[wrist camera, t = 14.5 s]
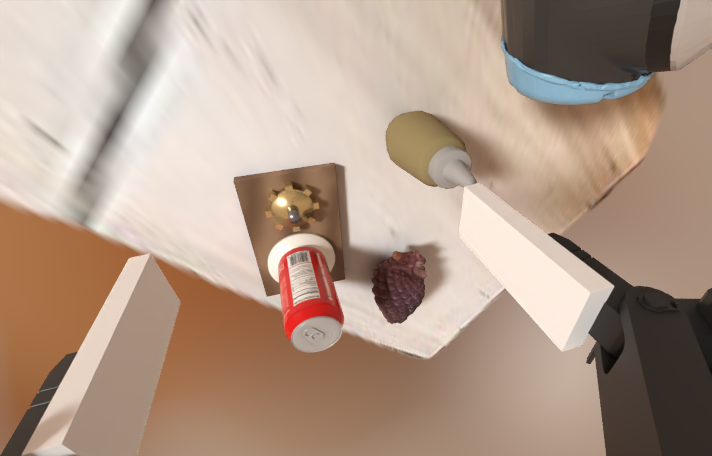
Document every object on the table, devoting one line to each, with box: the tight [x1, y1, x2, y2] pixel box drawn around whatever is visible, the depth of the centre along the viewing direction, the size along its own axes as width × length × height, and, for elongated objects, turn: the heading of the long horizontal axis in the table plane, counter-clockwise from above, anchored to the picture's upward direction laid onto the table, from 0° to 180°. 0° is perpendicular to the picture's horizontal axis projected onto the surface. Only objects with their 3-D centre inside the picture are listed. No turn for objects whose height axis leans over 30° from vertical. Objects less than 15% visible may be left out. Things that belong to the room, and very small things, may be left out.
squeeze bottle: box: [386, 111, 477, 189], centre depth 39 cm, size 8×8×18 cm
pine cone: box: [372, 250, 427, 324], centre depth 57 cm, size 18×10×10 cm, turn 174°
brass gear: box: [265, 181, 319, 232], centre depth 45 cm, size 8×8×4 cm
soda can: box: [278, 246, 344, 352], centre depth 46 cm, size 8×8×15 cm
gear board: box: [234, 163, 345, 296], centre depth 50 cm, size 14×22×2 cm, turn 4°
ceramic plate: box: [268, 232, 335, 283], centre depth 52 cm, size 11×11×1 cm
